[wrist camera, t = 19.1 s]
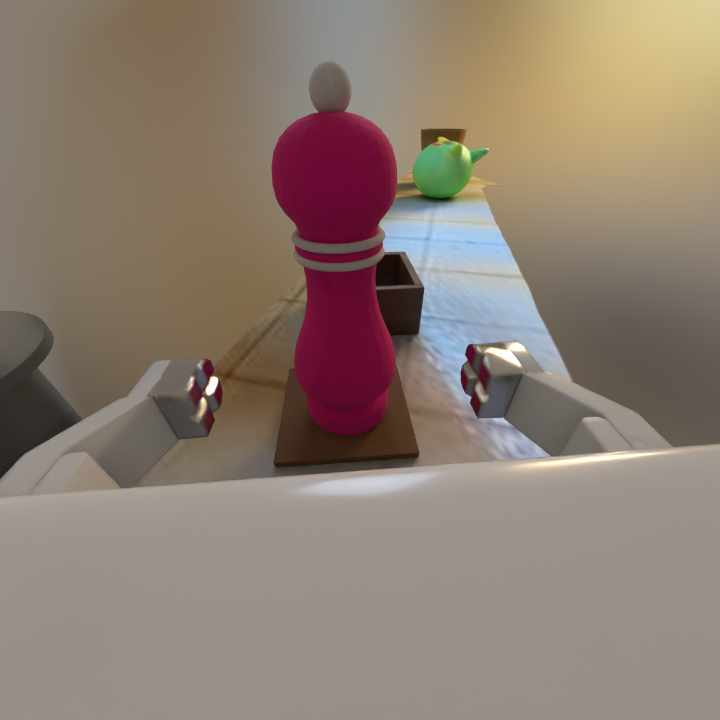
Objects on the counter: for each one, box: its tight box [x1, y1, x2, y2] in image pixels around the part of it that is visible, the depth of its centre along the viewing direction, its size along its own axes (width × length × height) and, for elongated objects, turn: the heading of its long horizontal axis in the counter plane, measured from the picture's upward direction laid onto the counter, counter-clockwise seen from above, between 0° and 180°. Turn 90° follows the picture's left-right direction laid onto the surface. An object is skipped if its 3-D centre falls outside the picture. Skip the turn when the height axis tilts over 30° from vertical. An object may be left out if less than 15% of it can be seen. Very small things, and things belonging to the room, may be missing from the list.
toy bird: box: [413, 137, 489, 198], centre depth 87 cm, size 18×17×15 cm
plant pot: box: [421, 129, 467, 151], centre depth 106 cm, size 15×15×16 cm
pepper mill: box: [272, 61, 397, 435], centre depth 18 cm, size 7×7×20 cm
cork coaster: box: [274, 366, 419, 467], centre depth 25 cm, size 10×10×1 cm
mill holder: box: [375, 252, 424, 335], centre depth 36 cm, size 11×11×6 cm
